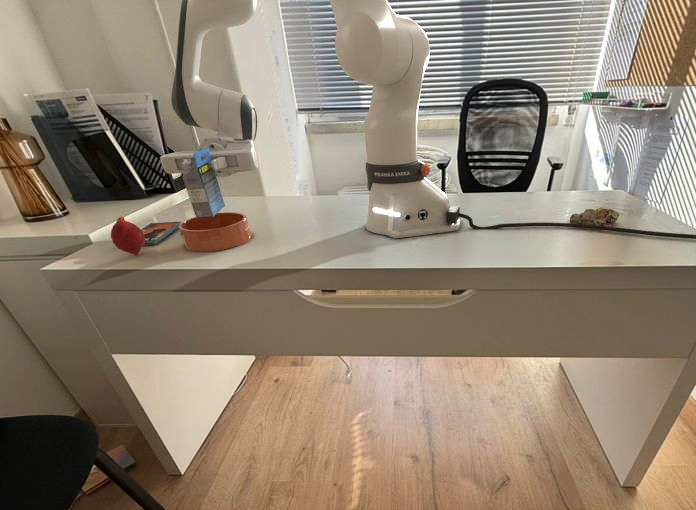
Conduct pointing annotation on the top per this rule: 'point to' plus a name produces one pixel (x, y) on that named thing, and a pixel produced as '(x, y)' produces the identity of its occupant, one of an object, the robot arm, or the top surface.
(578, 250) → the top surface
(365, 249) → the top surface
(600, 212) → the mineral rock
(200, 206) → the grey product box
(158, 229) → the smartphone
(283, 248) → the top surface
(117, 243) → the onion
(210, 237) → the terracotta bowl
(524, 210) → the top surface
